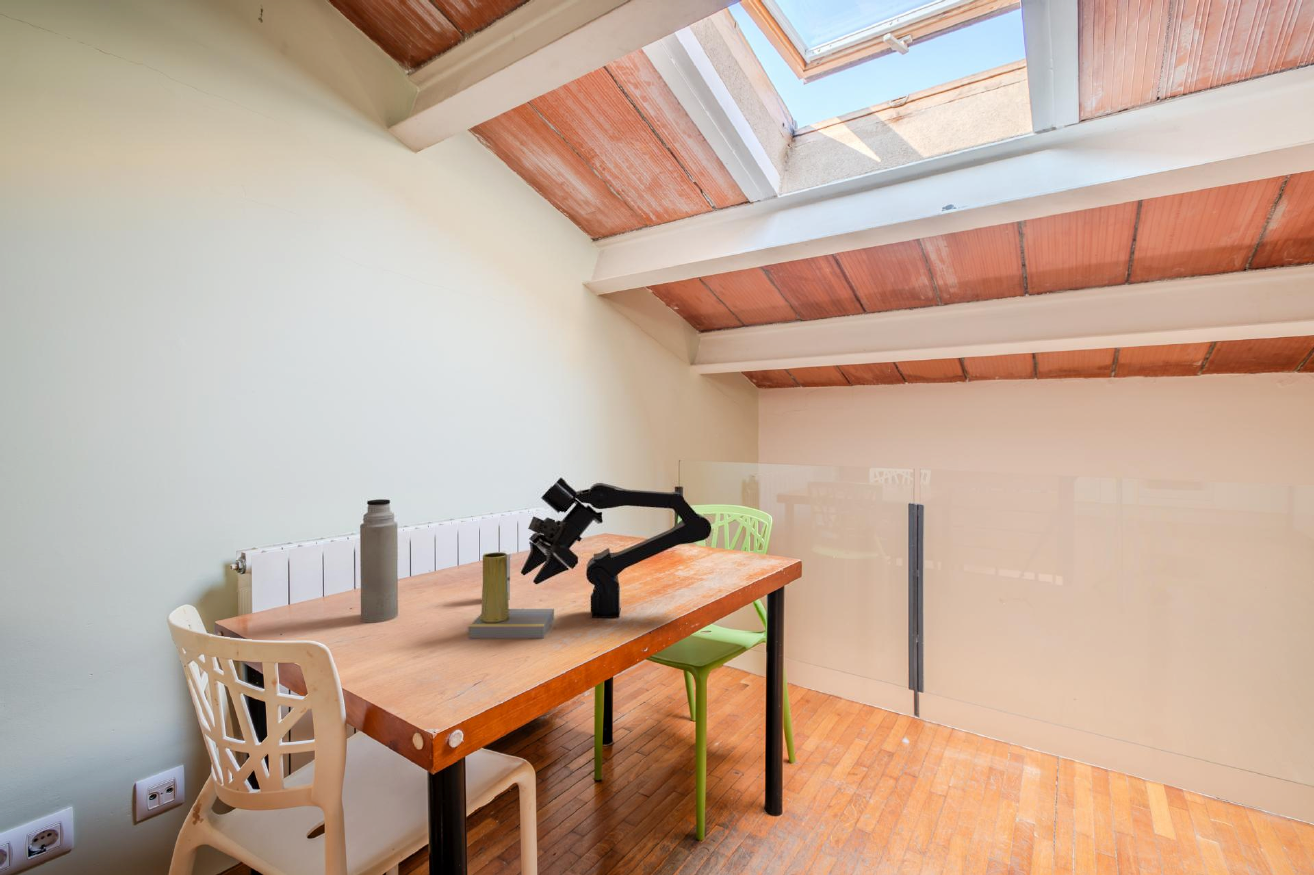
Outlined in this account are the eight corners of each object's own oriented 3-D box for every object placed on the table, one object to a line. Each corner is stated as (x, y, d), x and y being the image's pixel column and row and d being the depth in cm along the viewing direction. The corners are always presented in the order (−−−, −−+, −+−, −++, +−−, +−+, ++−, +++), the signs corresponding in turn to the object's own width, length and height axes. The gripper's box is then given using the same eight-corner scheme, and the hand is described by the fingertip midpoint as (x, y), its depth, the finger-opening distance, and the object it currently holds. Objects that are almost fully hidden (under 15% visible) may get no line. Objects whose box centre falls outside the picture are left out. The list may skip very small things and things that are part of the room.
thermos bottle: (382, 609, 139) (381, 497, 139) (405, 614, 136) (404, 498, 136) (353, 619, 132) (352, 500, 132) (376, 624, 129) (375, 502, 128)
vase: (489, 613, 128) (488, 551, 128) (514, 615, 127) (513, 552, 127) (475, 622, 122) (475, 557, 122) (501, 624, 121) (501, 558, 121)
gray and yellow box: (554, 619, 132) (554, 608, 132) (543, 638, 120) (543, 625, 120) (486, 619, 132) (485, 608, 132) (468, 638, 120) (468, 625, 120)
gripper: (537, 499, 139) (492, 549, 134) (564, 508, 123) (514, 565, 117) (567, 528, 143) (525, 577, 138) (597, 540, 127) (551, 596, 122)
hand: (528, 578), depth 128 cm, fingers open, 9 cm apart
